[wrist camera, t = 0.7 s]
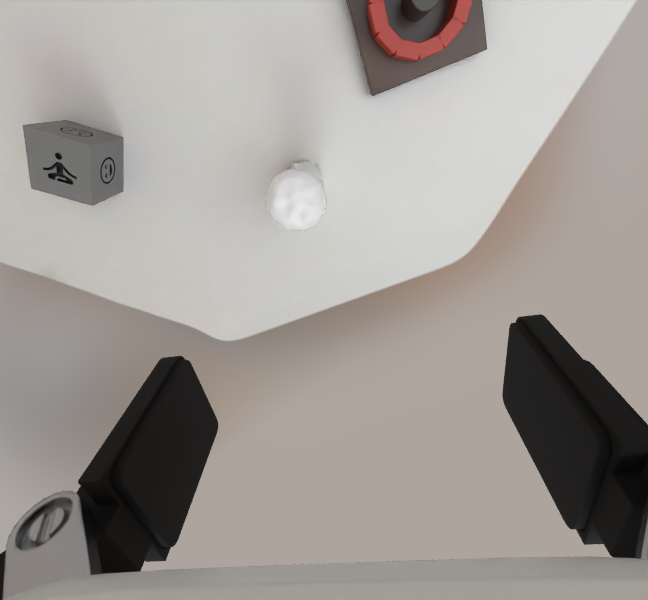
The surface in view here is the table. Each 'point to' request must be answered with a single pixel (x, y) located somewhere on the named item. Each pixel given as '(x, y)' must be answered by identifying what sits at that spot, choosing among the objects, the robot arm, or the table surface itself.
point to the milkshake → (297, 197)
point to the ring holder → (413, 39)
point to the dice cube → (74, 161)
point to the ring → (411, 49)
